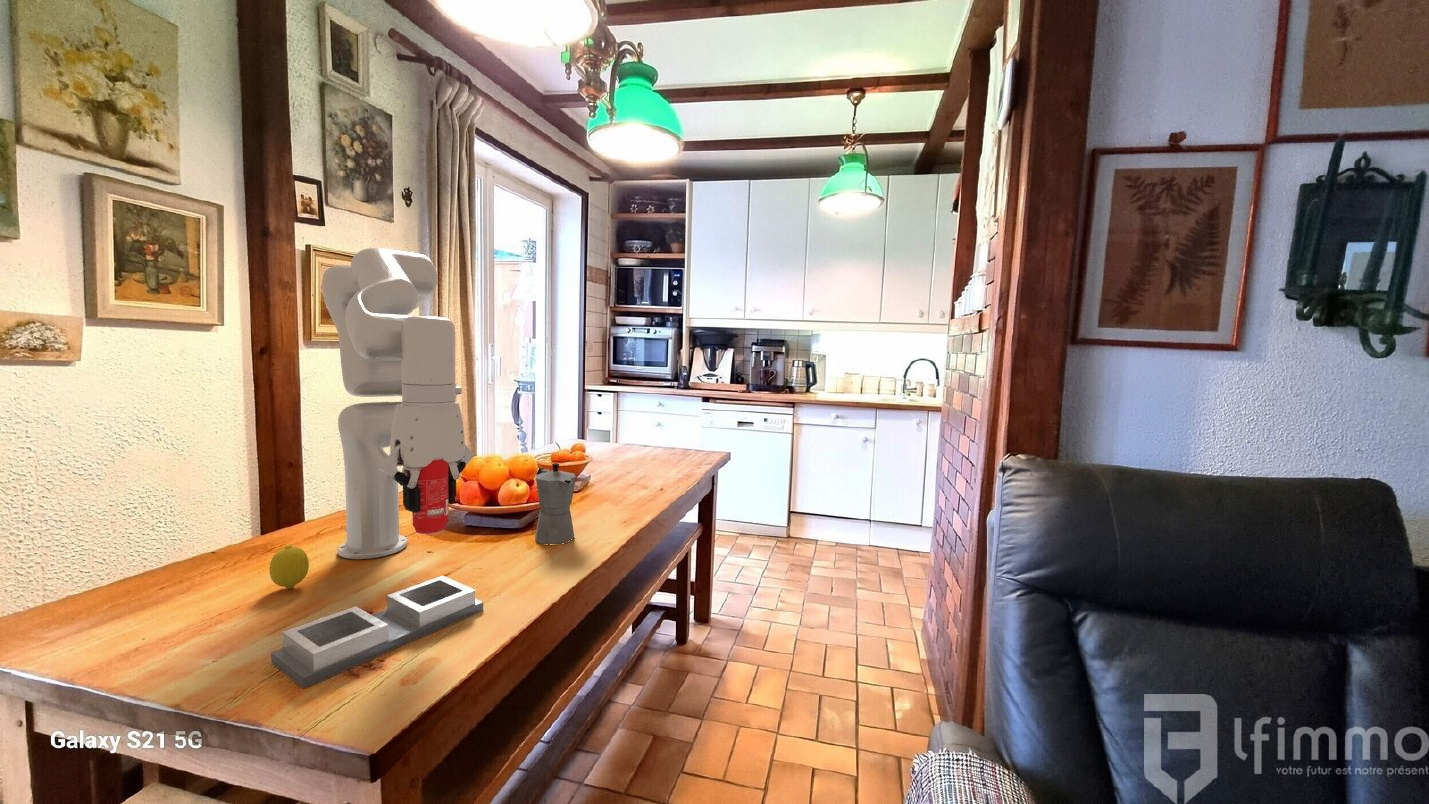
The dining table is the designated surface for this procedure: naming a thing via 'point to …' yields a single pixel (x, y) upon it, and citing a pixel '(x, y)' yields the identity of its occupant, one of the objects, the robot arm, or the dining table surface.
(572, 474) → the coffeepot
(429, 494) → the beverage can
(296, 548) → the lemon
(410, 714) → the dining table surface
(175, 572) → the dining table surface
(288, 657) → the socket rail
